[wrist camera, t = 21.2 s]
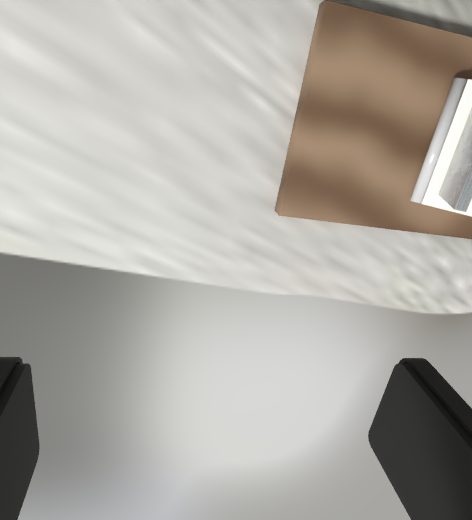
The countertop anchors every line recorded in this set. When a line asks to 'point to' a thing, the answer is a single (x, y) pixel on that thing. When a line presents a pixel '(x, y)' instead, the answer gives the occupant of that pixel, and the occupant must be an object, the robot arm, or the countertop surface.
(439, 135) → the tile
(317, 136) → the board
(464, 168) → the trowel
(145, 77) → the countertop surface
